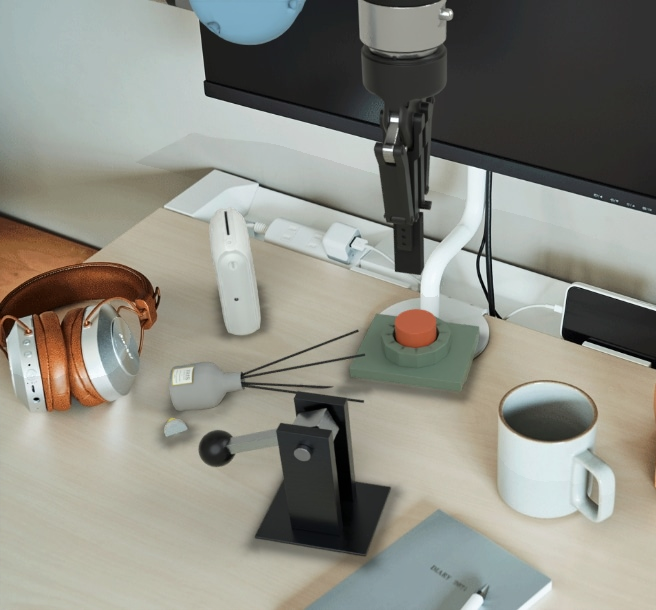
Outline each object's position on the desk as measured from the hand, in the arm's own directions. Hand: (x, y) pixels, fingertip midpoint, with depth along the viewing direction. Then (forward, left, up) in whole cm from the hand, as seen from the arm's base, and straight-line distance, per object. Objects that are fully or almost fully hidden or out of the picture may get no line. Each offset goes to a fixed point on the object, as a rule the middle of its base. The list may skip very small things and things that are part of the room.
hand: (409, 269), depth 94 cm
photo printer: (-22, +5, -12) cm, 26 cm away
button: (0, 0, -9) cm, 9 cm away
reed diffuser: (-13, -10, -12) cm, 20 cm away
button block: (0, 0, -12) cm, 12 cm away
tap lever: (-6, -23, -5) cm, 25 cm away
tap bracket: (-2, -23, -12) cm, 26 cm away
